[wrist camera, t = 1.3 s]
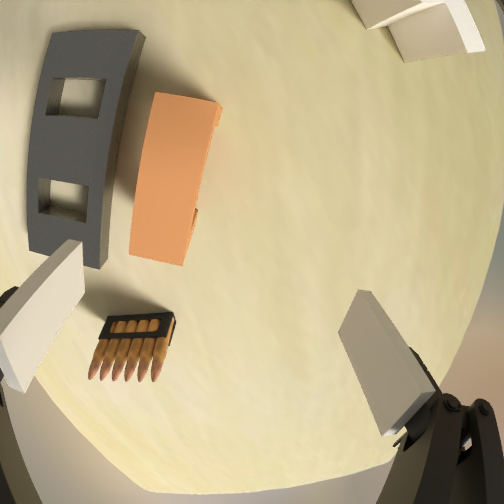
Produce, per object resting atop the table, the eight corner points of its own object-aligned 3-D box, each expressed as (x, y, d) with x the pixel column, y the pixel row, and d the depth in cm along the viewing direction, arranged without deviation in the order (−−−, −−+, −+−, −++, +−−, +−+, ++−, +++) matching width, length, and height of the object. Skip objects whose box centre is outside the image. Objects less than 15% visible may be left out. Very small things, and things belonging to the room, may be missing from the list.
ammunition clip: (173, 311, 40) (158, 376, 29) (176, 322, 40) (163, 386, 30) (107, 316, 39) (80, 374, 29) (111, 325, 40) (86, 384, 29)
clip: (178, 99, 28) (155, 91, 19) (222, 108, 29) (218, 102, 20) (154, 217, 34) (128, 254, 25) (194, 225, 34) (182, 265, 25)
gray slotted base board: (64, 37, 22) (52, 33, 19) (145, 36, 24) (138, 30, 21) (39, 241, 33) (29, 250, 31) (107, 258, 35) (99, 269, 33)
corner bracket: (347, -6, 23) (393, -45, 12) (413, -12, 21) (466, -36, 10) (384, 68, 27) (446, 56, 16) (445, 55, 26) (506, 48, 15)
